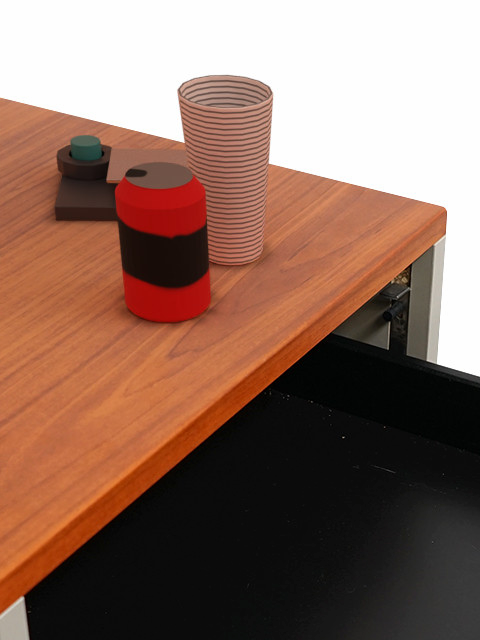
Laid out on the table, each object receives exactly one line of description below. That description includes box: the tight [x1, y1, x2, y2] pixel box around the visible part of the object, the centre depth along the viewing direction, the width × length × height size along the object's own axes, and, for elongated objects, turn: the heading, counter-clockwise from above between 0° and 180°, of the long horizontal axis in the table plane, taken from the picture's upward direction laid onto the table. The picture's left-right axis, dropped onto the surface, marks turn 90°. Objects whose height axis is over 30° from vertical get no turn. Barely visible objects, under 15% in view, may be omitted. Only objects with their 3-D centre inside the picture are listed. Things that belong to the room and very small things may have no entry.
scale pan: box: [106, 147, 188, 183], centre depth 140 cm, size 8×8×1 cm
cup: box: [176, 74, 274, 266], centre depth 129 cm, size 8×8×16 cm
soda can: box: [115, 162, 212, 323], centre depth 121 cm, size 8×8×12 cm
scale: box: [54, 143, 119, 222], centre depth 141 cm, size 14×12×3 cm
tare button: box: [69, 134, 102, 161], centre depth 142 cm, size 3×3×2 cm
